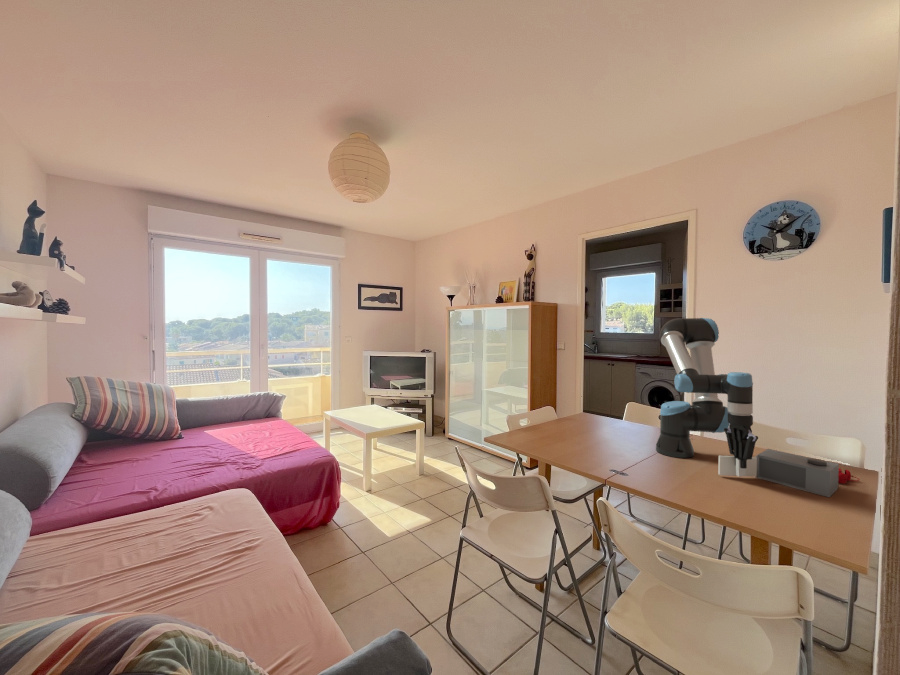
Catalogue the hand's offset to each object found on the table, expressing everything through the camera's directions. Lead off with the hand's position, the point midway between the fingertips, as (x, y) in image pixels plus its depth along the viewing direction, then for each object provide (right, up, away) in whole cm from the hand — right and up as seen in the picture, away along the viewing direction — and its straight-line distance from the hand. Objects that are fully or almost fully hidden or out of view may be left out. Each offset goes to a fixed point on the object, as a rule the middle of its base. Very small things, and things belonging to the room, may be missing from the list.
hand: (740, 475), depth 141 cm
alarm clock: (+36, -2, +2) cm, 36 cm away
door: (+2, -2, +4) cm, 5 cm away
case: (+19, -2, -2) cm, 19 cm away
